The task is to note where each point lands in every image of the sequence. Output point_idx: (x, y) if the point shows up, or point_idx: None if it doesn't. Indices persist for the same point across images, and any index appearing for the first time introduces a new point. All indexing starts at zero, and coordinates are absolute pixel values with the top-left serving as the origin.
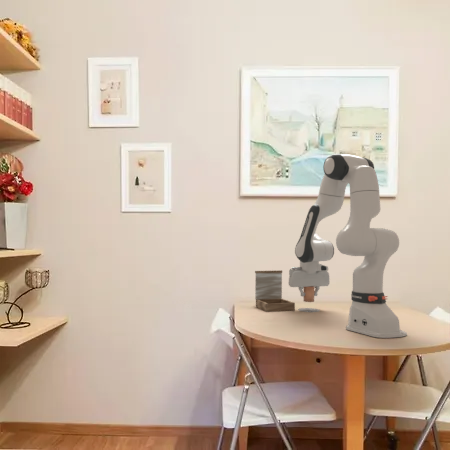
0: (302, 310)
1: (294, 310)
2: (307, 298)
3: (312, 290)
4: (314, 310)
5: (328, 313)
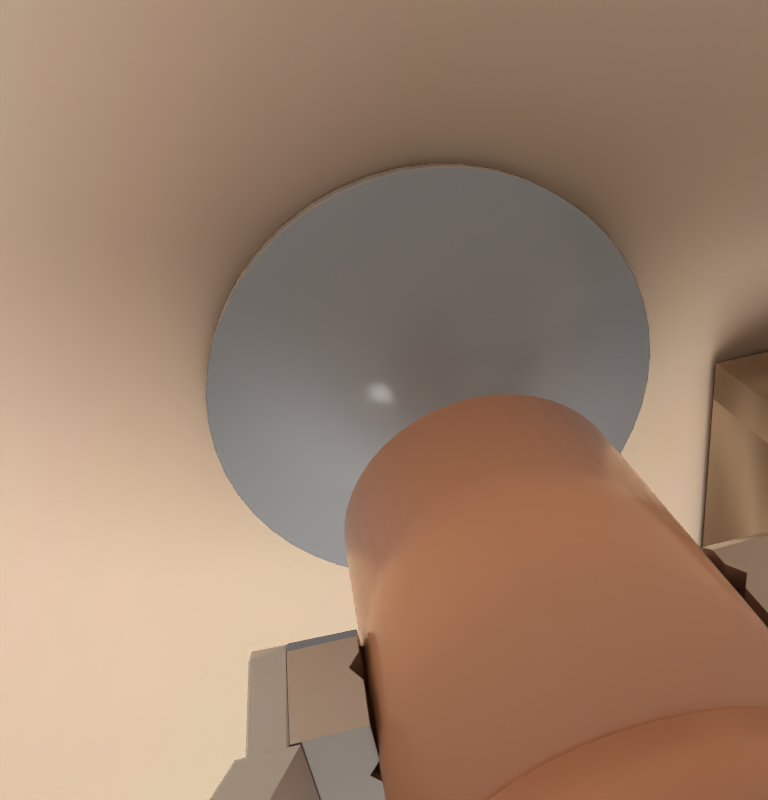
0: (600, 338)
1: (733, 368)
2: (621, 466)
3: (571, 680)
4: (345, 330)
5: (41, 157)
